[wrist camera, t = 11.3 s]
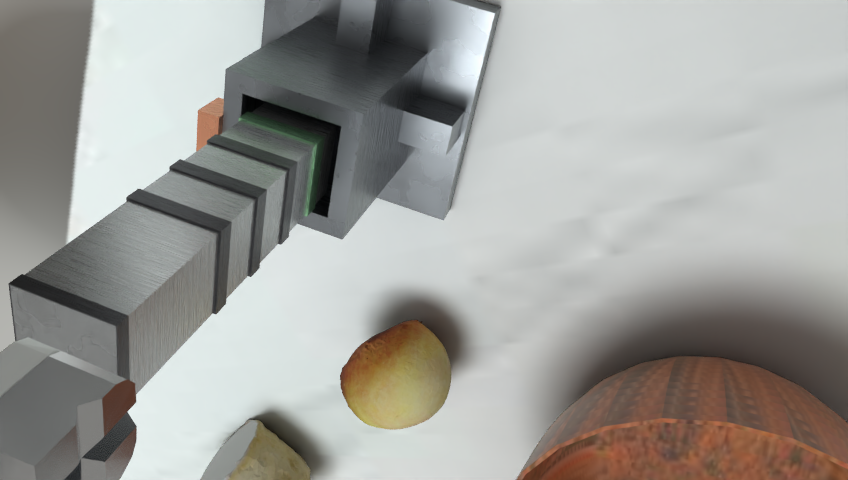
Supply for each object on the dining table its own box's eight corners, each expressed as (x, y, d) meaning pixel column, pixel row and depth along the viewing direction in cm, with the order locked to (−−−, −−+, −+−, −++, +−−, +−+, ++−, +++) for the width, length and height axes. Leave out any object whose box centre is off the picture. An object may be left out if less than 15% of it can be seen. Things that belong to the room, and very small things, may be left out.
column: (264, 99, 41) (7, 281, 26) (338, 124, 40) (118, 325, 25) (258, 170, 43) (18, 374, 28) (328, 194, 42) (120, 416, 28)
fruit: (368, 372, 63) (327, 441, 56) (370, 286, 58) (326, 350, 52) (460, 395, 61) (429, 470, 54) (469, 309, 57) (437, 378, 50)
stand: (281, -58, 48) (163, -14, 38) (500, 7, 46) (438, 72, 35) (262, 146, 55) (160, 229, 45) (449, 210, 53) (386, 312, 43)
